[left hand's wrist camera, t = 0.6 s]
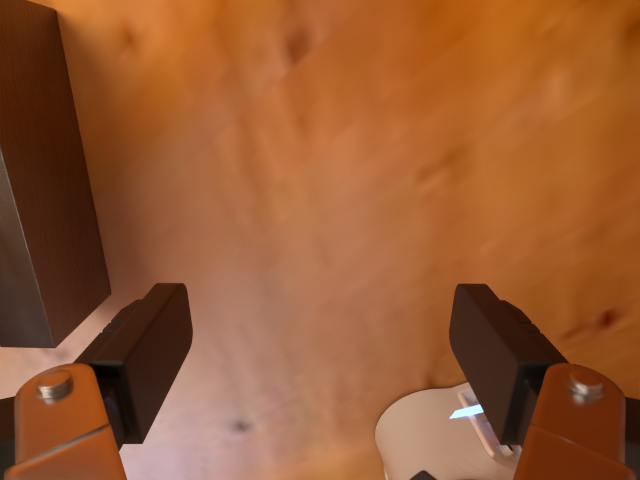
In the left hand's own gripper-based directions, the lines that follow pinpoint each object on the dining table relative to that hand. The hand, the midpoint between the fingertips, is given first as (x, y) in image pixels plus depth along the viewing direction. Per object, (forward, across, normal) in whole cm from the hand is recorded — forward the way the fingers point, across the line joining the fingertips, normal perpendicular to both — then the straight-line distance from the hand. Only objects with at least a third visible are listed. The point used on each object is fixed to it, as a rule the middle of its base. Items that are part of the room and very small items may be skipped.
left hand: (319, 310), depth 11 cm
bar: (+26, +25, +1) cm, 36 cm away
